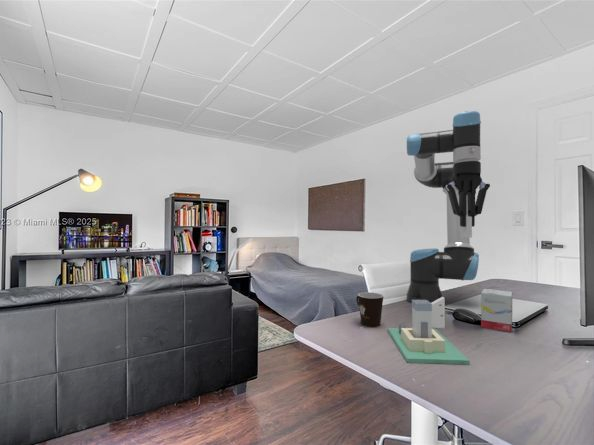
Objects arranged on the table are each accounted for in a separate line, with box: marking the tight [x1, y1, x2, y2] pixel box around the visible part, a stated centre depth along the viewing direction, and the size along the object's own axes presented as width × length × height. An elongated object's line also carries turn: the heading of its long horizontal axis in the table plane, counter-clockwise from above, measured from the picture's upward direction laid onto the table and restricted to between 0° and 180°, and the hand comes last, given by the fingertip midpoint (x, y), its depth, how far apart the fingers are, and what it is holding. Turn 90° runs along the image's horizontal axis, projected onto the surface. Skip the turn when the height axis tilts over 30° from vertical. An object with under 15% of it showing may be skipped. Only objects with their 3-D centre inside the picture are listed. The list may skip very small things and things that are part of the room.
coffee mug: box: [356, 291, 384, 328], centre depth 105 cm, size 12×9×10 cm
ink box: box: [480, 288, 513, 333], centre depth 100 cm, size 9×9×12 cm
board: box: [387, 323, 470, 365], centre depth 85 cm, size 22×15×4 cm
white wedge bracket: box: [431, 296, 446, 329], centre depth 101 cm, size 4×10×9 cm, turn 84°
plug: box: [411, 300, 433, 338], centre depth 83 cm, size 4×4×12 cm
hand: (467, 237), depth 94 cm, fingers closed
